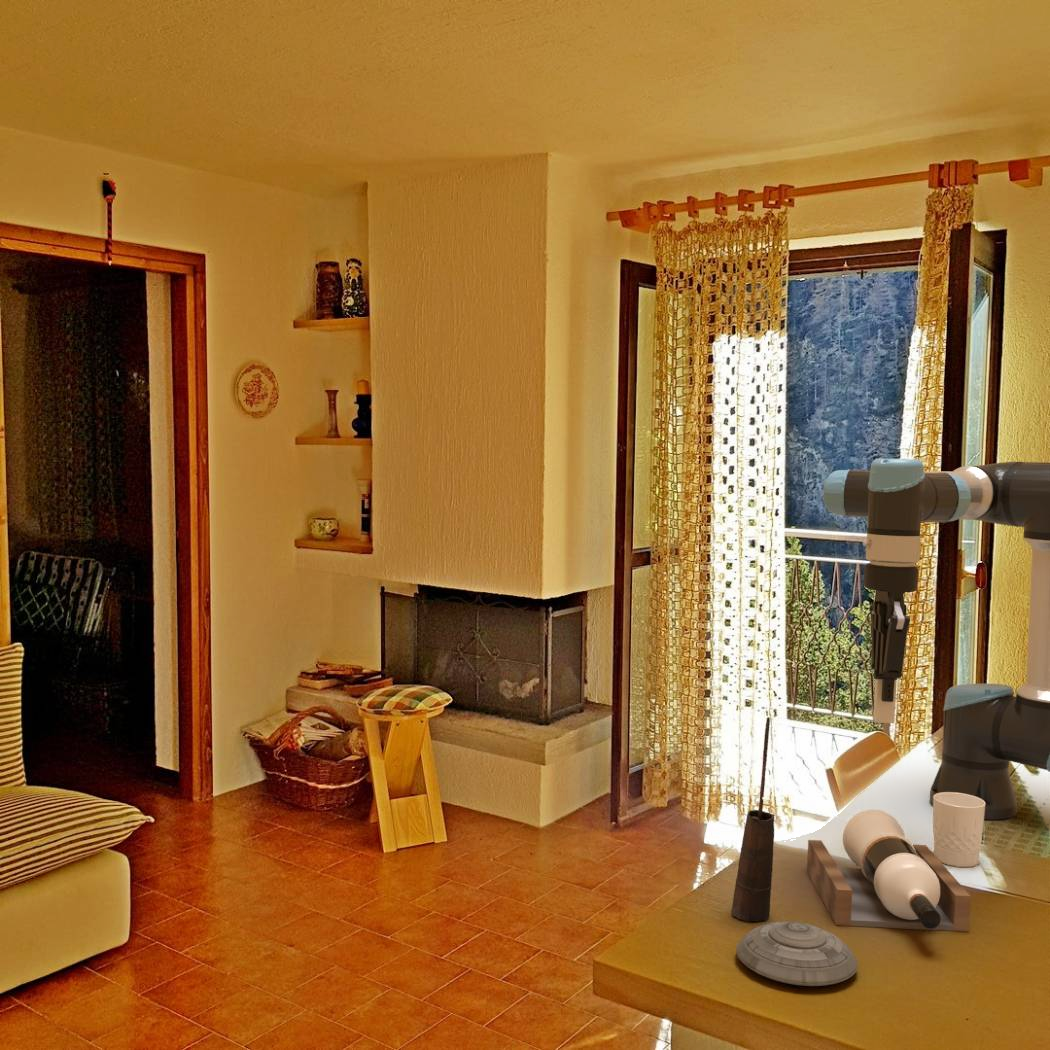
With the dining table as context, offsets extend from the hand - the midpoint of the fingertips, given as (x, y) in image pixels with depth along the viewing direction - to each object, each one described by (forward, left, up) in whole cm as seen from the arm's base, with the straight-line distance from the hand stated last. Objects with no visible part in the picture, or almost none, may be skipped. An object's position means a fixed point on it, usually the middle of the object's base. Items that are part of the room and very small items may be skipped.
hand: (883, 721), depth 166 cm
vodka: (-6, -5, -20) cm, 22 cm away
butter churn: (+24, -3, -26) cm, 35 cm away
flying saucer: (+30, +10, -26) cm, 41 cm away
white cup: (-22, 0, -26) cm, 34 cm away
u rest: (+2, +3, -26) cm, 26 cm away
